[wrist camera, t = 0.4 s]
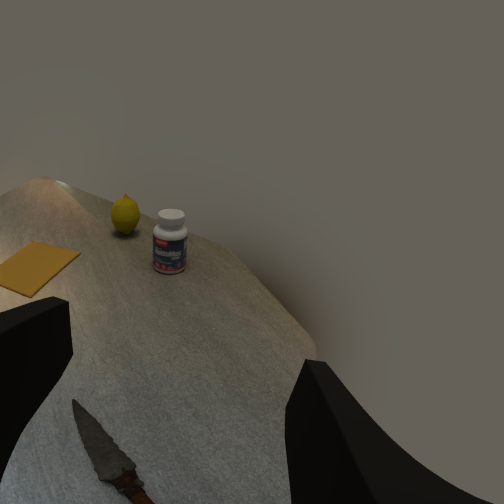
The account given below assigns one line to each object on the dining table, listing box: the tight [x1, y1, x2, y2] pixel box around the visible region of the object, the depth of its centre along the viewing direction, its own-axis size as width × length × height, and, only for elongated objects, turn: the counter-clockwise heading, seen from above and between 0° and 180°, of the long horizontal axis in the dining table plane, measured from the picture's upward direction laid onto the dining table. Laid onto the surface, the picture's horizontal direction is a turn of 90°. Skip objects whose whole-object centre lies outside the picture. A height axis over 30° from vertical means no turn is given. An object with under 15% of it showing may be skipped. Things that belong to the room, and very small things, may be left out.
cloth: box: [0, 241, 81, 298], centre depth 42 cm, size 14×12×1 cm
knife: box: [72, 399, 154, 504], centre depth 19 cm, size 17×2×5 cm
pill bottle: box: [153, 209, 188, 274], centre depth 47 cm, size 5×5×9 cm
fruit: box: [111, 194, 140, 235], centre depth 55 cm, size 6×6×8 cm
